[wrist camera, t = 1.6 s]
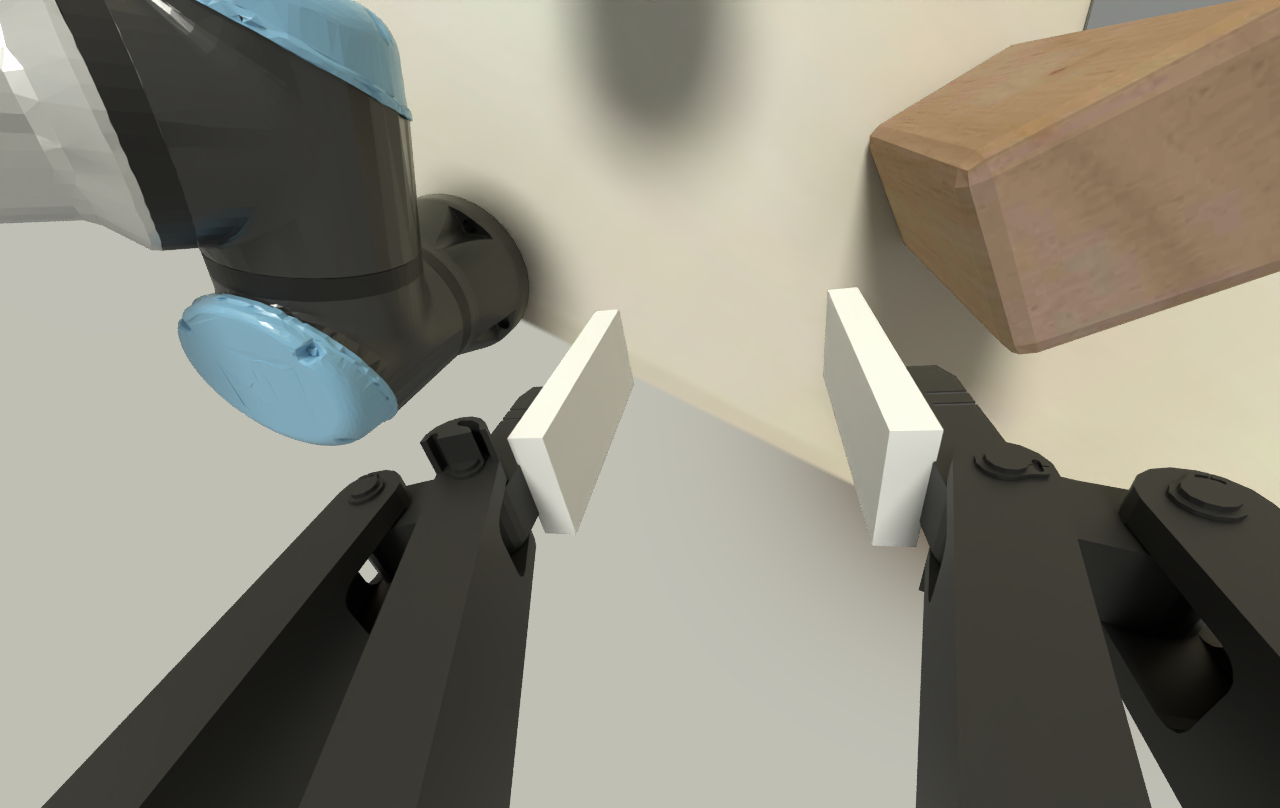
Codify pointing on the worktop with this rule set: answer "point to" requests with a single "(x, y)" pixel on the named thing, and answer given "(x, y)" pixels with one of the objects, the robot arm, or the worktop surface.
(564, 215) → the worktop surface
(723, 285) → the worktop surface
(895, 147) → the wooden block
